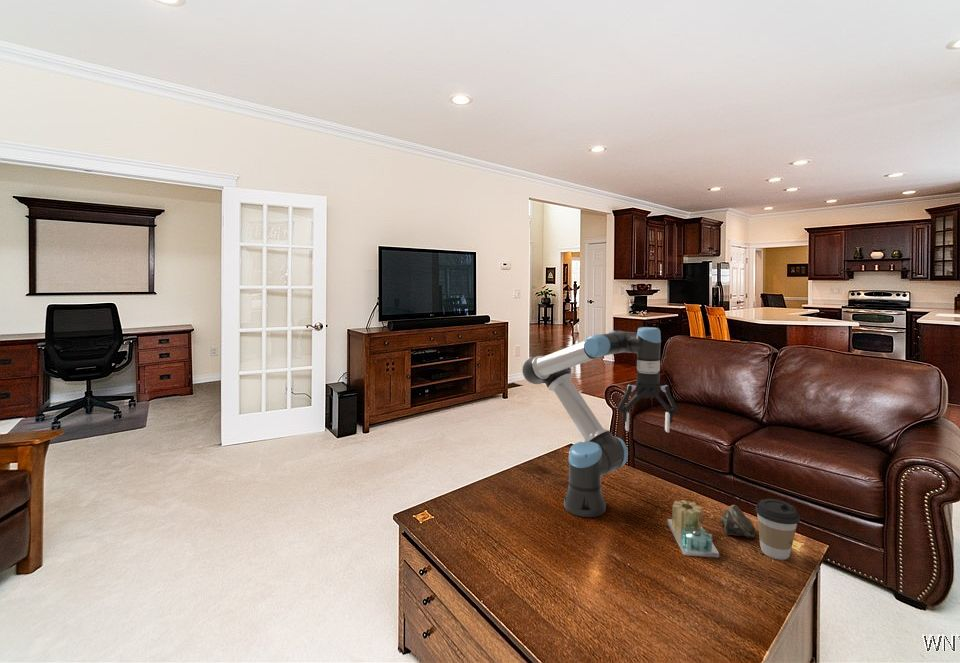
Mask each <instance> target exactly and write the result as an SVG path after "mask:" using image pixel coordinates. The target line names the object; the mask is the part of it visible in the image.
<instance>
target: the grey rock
mask: <svg viewBox="0 0 960 663" xmlns="http://www.w3.org/2000/svg"><path fill="white" fill-rule="evenodd" d="M719 522H720V523H722V524H723V525H724V527H723V530H724V531H723V532H724V534H725V536H731V535H734V536H736V537H737V536H738V537H739V536H743V537H745V538H747V539H753V538H755V537H756V529H755V526H754V524H753V522H752V520H751V519H750V518H749V517H747V515H745V513H744V512H743V511H742V510H741V509H740V507H739V506H738V505H736V504H731V505H730V506H729V507H728V508H727V510H725V512H723V515H721V516H720V519H719Z"/></svg>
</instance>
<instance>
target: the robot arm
mask: <svg viewBox="0 0 960 663" xmlns="http://www.w3.org/2000/svg"><path fill="white" fill-rule="evenodd" d="M661 338H662V335H661V330H660V328H659V327H649V326H646V327H645V326H643V327H638V328H637V332H632V331H623V330H611V331H609V332H608V333H602V334H601V333H599V334H598V333H597V334H593V335H591V336H589V337H587V338H586V339H584V340H582V341H580V342H577V343H574V344H571V345H570V346H567V347H564V348H562V349H560V350H556V351H554V352H551V353H550V354H546V355H537V356H532V357H530V358H528V359H526V360H525V362H524V363H523V365H522V369H521V370H522V375H523V377H524V379H525V380H526V381H527V382H528V383H530V384H533V385H542V384H545V386H546V387H547V389H548V390H550V391H553V392H554V393H555V395H556V397H557V399H558V400H559V401H560V403H561V404H562V406H563V407H564V409H565V411H566V412H567V414H568V415H569V417H570V418H571V420H572V421H573V423H574V425H575V426H576V428H577V430H578V431H579V433H580V435H581V436H582V437H583V439H584V442H583V441H579V442H576V443H574V444H573V445H572V446H570V448H569V451H568V452H569V453H568V487H567V489H566V493H565V496H564V499H563V506H564V509H565V510H566V511H567V512H568V513H570V514H572V515H575V516H577V517H583V518H595V517H600V516H602V515H603V514H604V513H605V512H606V509H607V508H606V507H607V506H606V505H607V503H606V499H605V498H604V495H603V491H602V490H603V489H602V476H605V475H606V474H609V473H611V472H613V471H617V470H618V469H620V468H621V467H623V466H624V465H625V464H626V463H627V461H628V459H629V458H628V455H629V451H628V446H627V445H626V443H625V441H624V440H623V439H621V437H617V436H613V434H612V433H611V431H610V430H608V429H605V428H604V427H603V426H602V424H601V423H600V421H599V419H597V417H596V416H595V413H594V412H593V411H592V409H591V408H590V407H589V405H588V404H587V401H586V400H585V399H584V397H583V396H582V394H581V393H580V392H579V390H578V388H577V387H576V385H575V384H574V382H573V381H572V377H573V374H572V368H573V367H575V366H578V365H581V364H584V363H587V362H591V361H592V360H596V359H600V358H602V357H605V356H606V357H607V356H609V355H615V354H621V353H629V354H631V353H632V354H636V356H637V357H636V370H637V372H636V384H635V385H631V384H627V385H626V390H625V392H624V394H623V396H622V397H621V399H620V401H619V403H618V405H617V407H616V408H617V410H618V411H619V412H622V422H625V423H624V424H625V425H624V429H625V431H626V432H629V430H630V427H629V426H630V412H629V411H630V409H632V407H633V406H634V405H635V404H636V403H637V402H638V401H639V400H640V399H641V398H643V399H654V398H655V399H656V400H657V401H658V402H659V403H660V404H661V406H662V407H663V408H664V409H665V410H666V411H665V415H664V418H665V420H664V431H665V432H666V433H670V423H673V422H674V421H673V418H674V417H673V416H674V414H675V413H679V408H678V406H677V404H676V402H675V400H674V398H673V396H672V394H671V392H670V386H669V385H667V384H664V385H661V384H660V383H661V382H660V377H661V373H660V371H661V343H662V339H661ZM634 390H635V391H636V393H635V394H634V396H633V397H632V398H631V399H629V398H630V396H631V394H632V393H633V392H634ZM660 391H661V392H663V393H664V394H665V396H666V398H667V400H668V402H669V404H670V405H671V406H669V405H668V404H667V402H666V401H664V399H663V398H662V397H661V396H660V395H659V393H660ZM628 400H629V401H628Z"/></svg>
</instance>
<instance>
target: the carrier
mask: <svg viewBox="0 0 960 663" xmlns="http://www.w3.org/2000/svg"><path fill="white" fill-rule="evenodd" d="M666 522H667V525H668V526H669V529H670V531H671V532H672V534H673V537H674V539H675V541H676V543H677V545H678V547H679V549H680V551H681V552H682V554H683V556H690V557H691V556H693V557H703V558H704V557H706V558H707V557H708V558H717V559H718V558H720V553H719V551H718V549H717V547H716V546H715V544H714V543H713V535H712V533H707V531H706V529H704V528H703V526H702V525H701V529H697V528H695V527H694V526H690V528H685V527H683V528H682V532H680V531H678V529H677V528H676V527H673V525H672V518H671V519H669V518H668V519H667V521H666Z"/></svg>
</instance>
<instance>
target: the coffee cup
mask: <svg viewBox="0 0 960 663" xmlns="http://www.w3.org/2000/svg"><path fill="white" fill-rule="evenodd" d="M754 510H755V513H756V516H757V524H758V535H759V545H760V549H761V552H762V553H763V554H764V555H766V556H767V557H769V558H772V559H775V560H780V561H781V560H782V561H785V560H788V559H789V557H790V556H791V552H792V547H793V543H794V539H795V534H796V530H797V526H798V524H799V523H800V521H801V518H800V517H801V515H800V514H799V512H798V510H797V509H796V508H795V506H793V505H792V504H790V503H788V502H787V501H783V500H779V499H774V498H765V499H764V498H763V499H761V500H759V501H758V503H756V505H755V508H754Z"/></svg>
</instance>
